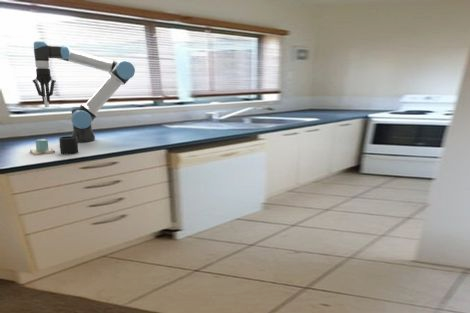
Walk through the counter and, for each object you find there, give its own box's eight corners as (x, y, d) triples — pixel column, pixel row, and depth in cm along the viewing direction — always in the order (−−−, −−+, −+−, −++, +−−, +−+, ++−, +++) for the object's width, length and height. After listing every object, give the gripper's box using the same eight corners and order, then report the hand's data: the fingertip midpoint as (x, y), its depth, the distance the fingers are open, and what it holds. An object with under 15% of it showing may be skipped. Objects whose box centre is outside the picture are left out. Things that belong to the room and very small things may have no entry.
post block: (51, 149, 217) (50, 140, 216) (55, 152, 209) (54, 143, 207) (30, 151, 210) (29, 142, 209) (33, 155, 202) (32, 145, 201)
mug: (70, 149, 217) (69, 135, 215) (81, 152, 210) (80, 137, 208) (55, 152, 210) (53, 137, 208) (65, 155, 203) (64, 139, 200)
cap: (41, 148, 212) (40, 138, 211) (50, 149, 212) (49, 139, 210) (34, 151, 207) (33, 140, 205) (44, 151, 206) (42, 141, 205)
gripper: (56, 68, 222) (60, 106, 227) (34, 68, 220) (38, 106, 225) (52, 68, 215) (56, 107, 220) (28, 67, 213) (33, 107, 218)
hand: (47, 107), depth 223 cm, fingers closed
